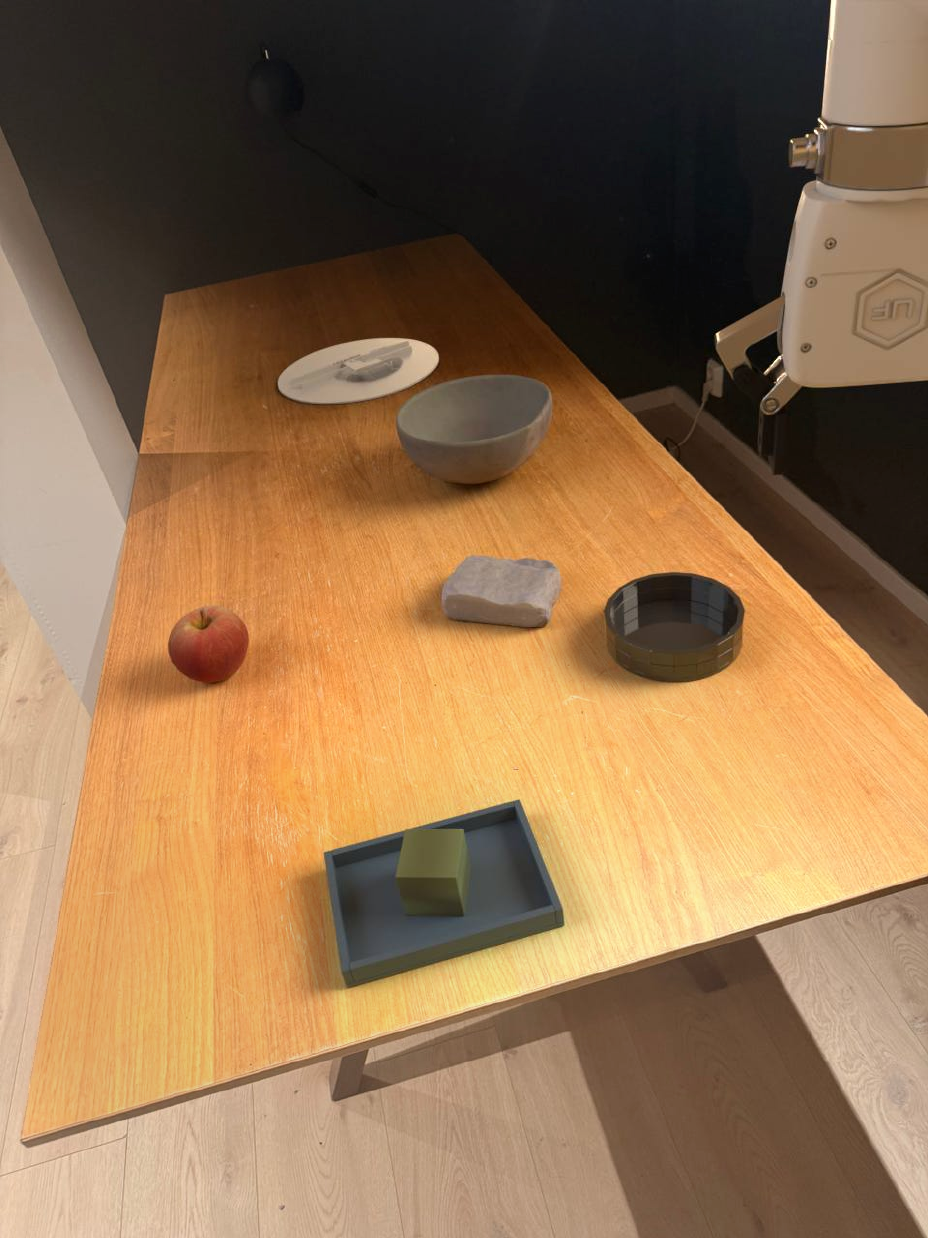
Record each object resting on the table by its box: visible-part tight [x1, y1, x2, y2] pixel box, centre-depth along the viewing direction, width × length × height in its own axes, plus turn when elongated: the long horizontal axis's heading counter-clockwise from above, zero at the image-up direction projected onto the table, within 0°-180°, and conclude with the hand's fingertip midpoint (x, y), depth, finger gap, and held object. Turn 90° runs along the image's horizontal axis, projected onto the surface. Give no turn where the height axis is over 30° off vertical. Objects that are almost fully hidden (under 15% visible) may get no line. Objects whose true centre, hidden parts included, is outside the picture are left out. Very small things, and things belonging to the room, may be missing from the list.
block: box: [395, 828, 471, 916], centre depth 71 cm, size 4×4×4 cm
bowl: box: [395, 374, 553, 485], centre depth 125 cm, size 20×20×10 cm
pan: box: [603, 571, 746, 683], centre depth 93 cm, size 13×13×4 cm
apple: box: [167, 604, 250, 684], centre depth 97 cm, size 8×8×8 cm
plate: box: [277, 337, 440, 405], centre depth 163 cm, size 28×28×1 cm
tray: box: [323, 798, 565, 989], centre depth 72 cm, size 16×11×2 cm
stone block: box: [441, 554, 563, 628], centre depth 102 cm, size 12×5×10 cm
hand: (858, 459), depth 57 cm, fingers open, 9 cm apart
